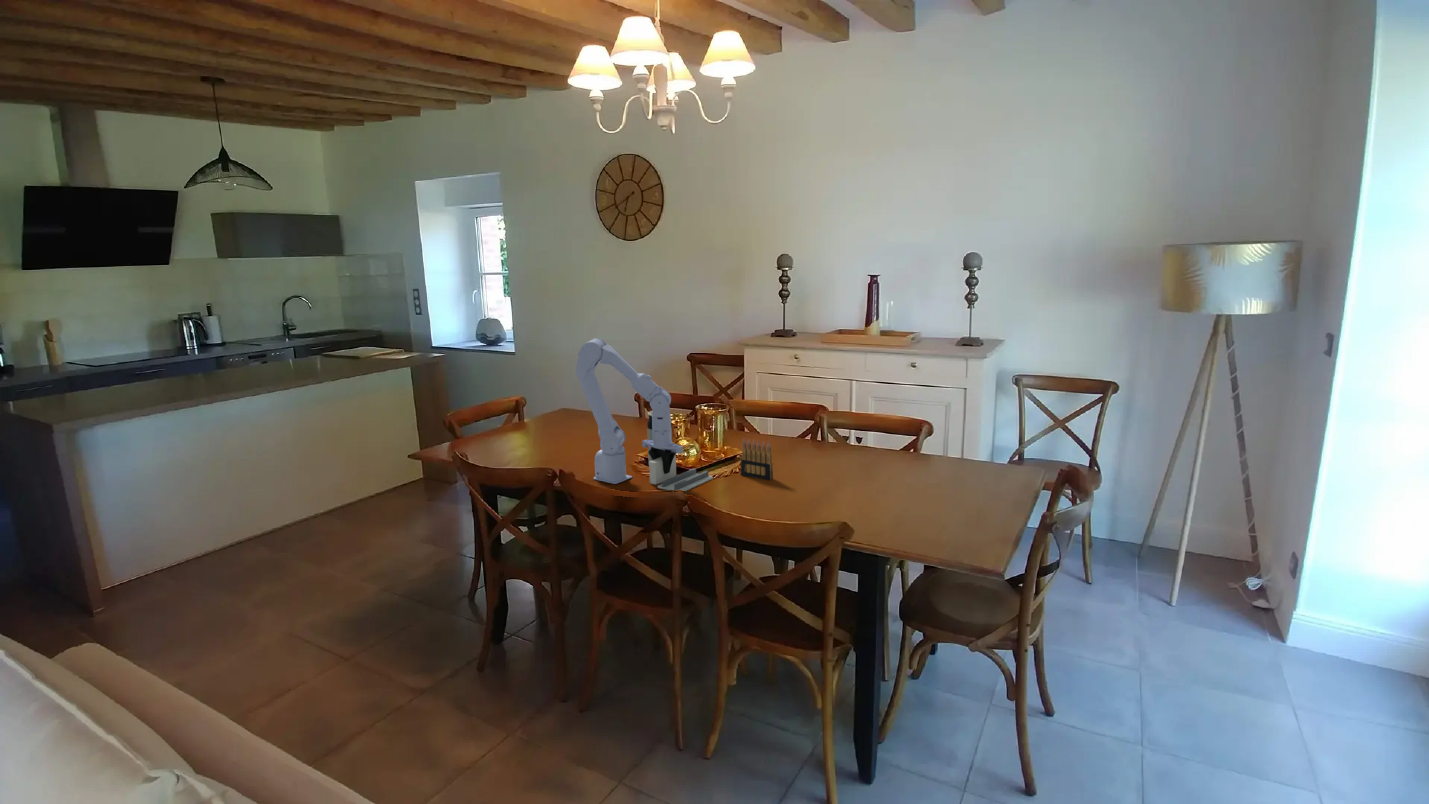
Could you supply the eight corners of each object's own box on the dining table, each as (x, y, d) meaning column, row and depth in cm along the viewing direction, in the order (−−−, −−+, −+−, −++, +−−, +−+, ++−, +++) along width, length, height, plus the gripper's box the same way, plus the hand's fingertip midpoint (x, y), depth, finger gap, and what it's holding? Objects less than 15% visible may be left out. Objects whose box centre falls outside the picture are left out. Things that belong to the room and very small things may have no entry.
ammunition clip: (740, 474, 230) (740, 438, 228) (743, 473, 232) (743, 436, 229) (770, 480, 224) (770, 442, 222) (773, 478, 226) (773, 441, 223)
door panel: (649, 483, 223) (649, 461, 222) (670, 474, 231) (669, 453, 230) (655, 484, 222) (655, 462, 221) (676, 476, 230) (675, 454, 229)
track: (657, 487, 219) (657, 481, 219) (689, 473, 232) (689, 467, 231) (681, 493, 214) (681, 486, 214) (712, 478, 227) (712, 472, 226)
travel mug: (671, 469, 237) (670, 415, 233) (647, 469, 237) (645, 415, 234) (673, 461, 245) (672, 409, 241) (650, 462, 245) (648, 410, 241)
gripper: (688, 430, 222) (689, 472, 225) (651, 424, 231) (653, 465, 233) (674, 435, 217) (675, 478, 220) (637, 428, 225) (638, 470, 228)
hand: (663, 472), depth 226 cm, fingers closed on door panel, 2 cm apart
